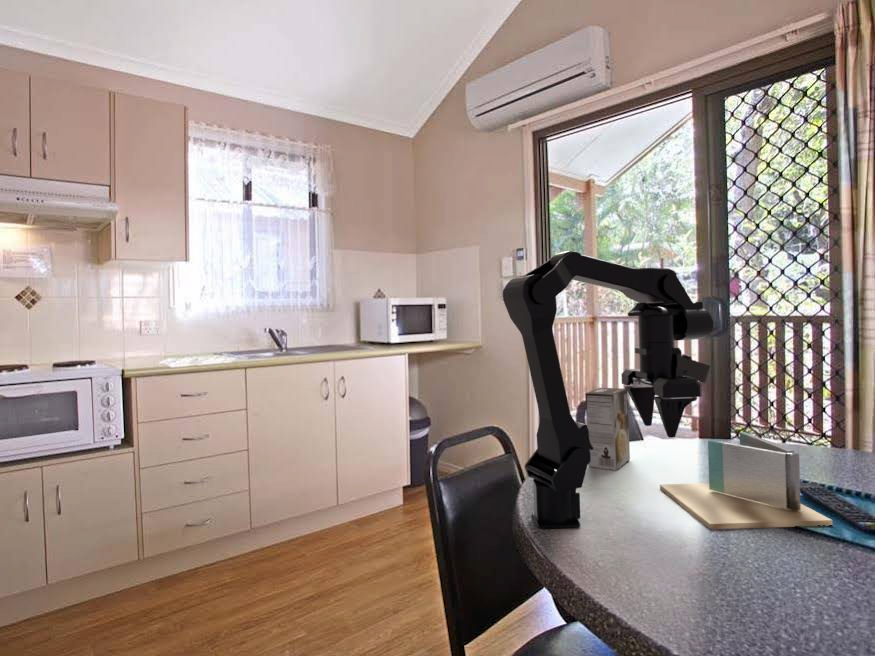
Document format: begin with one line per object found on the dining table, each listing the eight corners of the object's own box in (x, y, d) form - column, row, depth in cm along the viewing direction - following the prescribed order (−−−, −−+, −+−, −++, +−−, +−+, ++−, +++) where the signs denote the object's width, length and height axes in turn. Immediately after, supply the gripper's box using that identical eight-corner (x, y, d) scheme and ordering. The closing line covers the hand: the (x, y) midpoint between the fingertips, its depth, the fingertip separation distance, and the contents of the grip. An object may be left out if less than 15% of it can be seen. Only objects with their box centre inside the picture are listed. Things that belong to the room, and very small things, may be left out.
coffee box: (602, 456, 117) (599, 386, 116) (630, 460, 113) (628, 388, 113) (587, 466, 109) (584, 392, 109) (617, 471, 106) (614, 394, 105)
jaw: (796, 511, 78) (795, 456, 78) (709, 489, 89) (707, 440, 89) (802, 508, 79) (801, 453, 79) (716, 486, 91) (714, 438, 90)
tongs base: (710, 529, 76) (708, 464, 76) (658, 487, 95) (656, 435, 95) (832, 525, 76) (830, 460, 75) (755, 484, 95) (754, 431, 94)
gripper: (734, 342, 79) (736, 442, 80) (676, 338, 98) (679, 419, 98) (663, 345, 79) (666, 445, 80) (619, 340, 98) (621, 421, 98)
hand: (659, 431), depth 89 cm, fingers open, 9 cm apart
